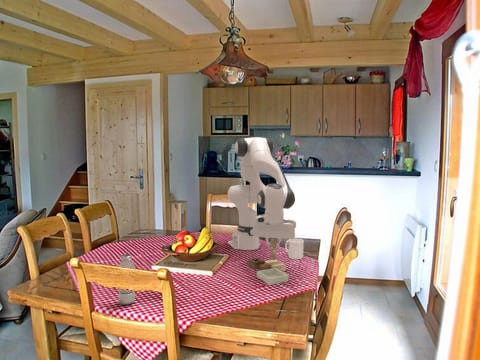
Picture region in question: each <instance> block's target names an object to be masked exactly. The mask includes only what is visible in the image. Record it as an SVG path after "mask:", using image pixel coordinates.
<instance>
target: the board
mask: <svg viewBox="0 0 480 360" xmlns="http://www.w3.org/2000/svg"><path fill="white" fill-rule="evenodd" d="M263 261H264V264H267V265H269V266H271V269H273V268H276V269H278V270H280V271H282V272H284V273H285V272H286V271H287V264H285V263H283V262H281V261H280V260H278V259H276V260H271V259H269V260H268V259H267V260H263Z"/></svg>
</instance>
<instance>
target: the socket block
mask: <svg viewBox="0 0 480 360" xmlns="http://www.w3.org/2000/svg"><path fill="white" fill-rule="evenodd" d="M247 261H248V263H247V265H248V267H249V268H252V269H253V270H258V269H260V265H263V264H264V261H265V260H263V259H261V258H260V257H255V258H254V257H253V258H248V259H247Z"/></svg>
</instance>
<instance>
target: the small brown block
mask: <svg viewBox="0 0 480 360" xmlns="http://www.w3.org/2000/svg"><path fill="white" fill-rule="evenodd" d="M267 269H271V266H269V265H267V264H263V265H260V268H259V271H262V270H267Z"/></svg>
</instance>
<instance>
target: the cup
mask: <svg viewBox="0 0 480 360" xmlns="http://www.w3.org/2000/svg"><path fill="white" fill-rule="evenodd" d="M304 241H305V240H304V239H302V238H294V239H286V242H285V245H284V246H285V247H284V248H285V251H286V252H287V253H288V258H289V259H291V260H295V261H296V260H298V259H300V260H302V259H304V244H305V243H304Z"/></svg>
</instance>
